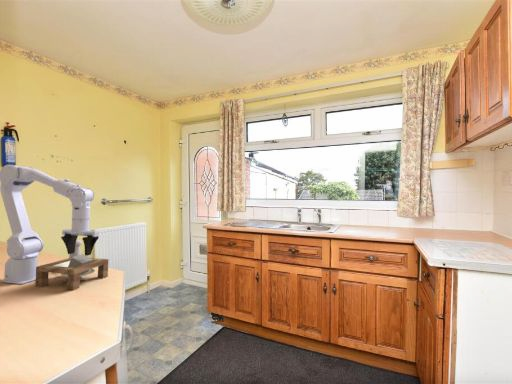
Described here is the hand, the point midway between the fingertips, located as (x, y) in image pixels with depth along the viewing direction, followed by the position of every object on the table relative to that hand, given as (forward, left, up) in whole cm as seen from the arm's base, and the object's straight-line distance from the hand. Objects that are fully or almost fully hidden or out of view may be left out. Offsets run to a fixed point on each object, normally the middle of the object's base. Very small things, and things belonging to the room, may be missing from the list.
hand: (79, 254), depth 97 cm
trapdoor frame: (-2, 0, -10) cm, 11 cm away
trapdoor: (-3, 0, -6) cm, 7 cm away
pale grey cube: (0, 0, -6) cm, 6 cm away
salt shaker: (-14, +12, -11) cm, 21 cm away
